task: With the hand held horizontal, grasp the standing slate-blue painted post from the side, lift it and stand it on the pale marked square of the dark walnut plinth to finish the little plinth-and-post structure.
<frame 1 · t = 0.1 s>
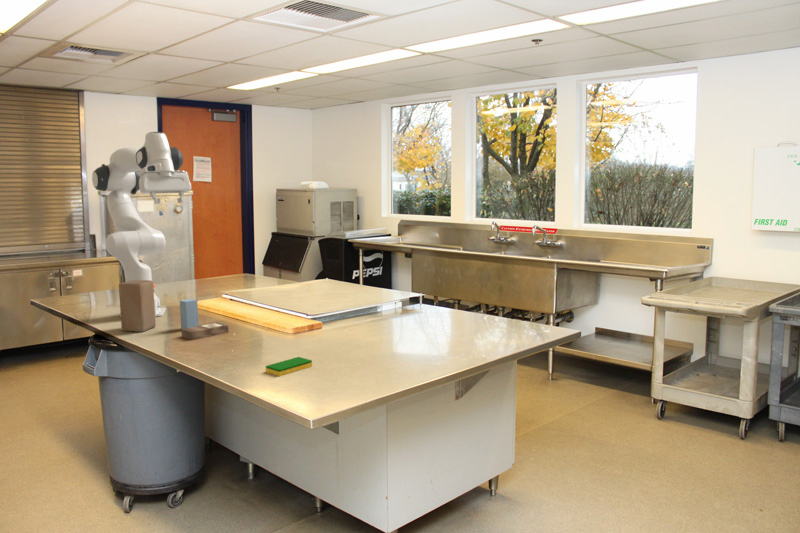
hand: (169, 203, 256), 52 cm above the table, tool tilted 20°, fingers open, 8 cm apart
plinth: (205, 334, 255), on the table
post: (190, 328, 265), on the table
dish sponge: (289, 370, 208), on the table
block: (139, 329, 265), on the table
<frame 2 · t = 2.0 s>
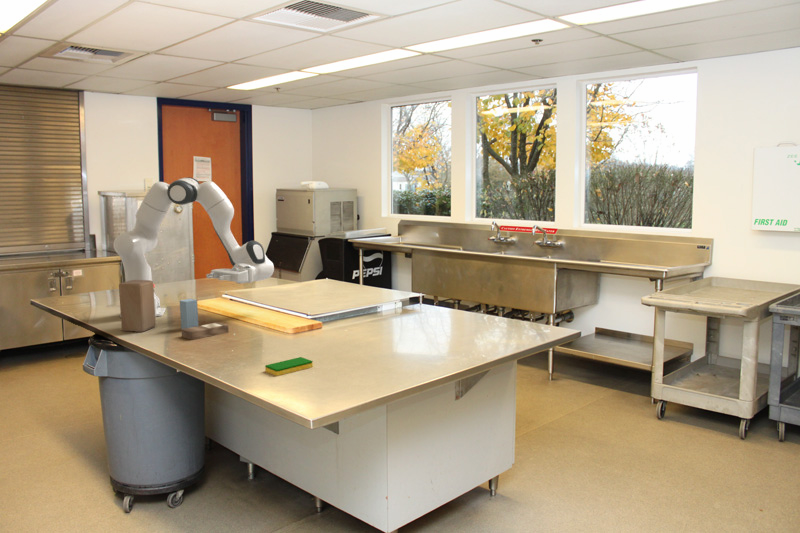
hand: (213, 277, 271), 20 cm above the table, tool horizontal, fingers open, 8 cm apart
nothing on the table moved.
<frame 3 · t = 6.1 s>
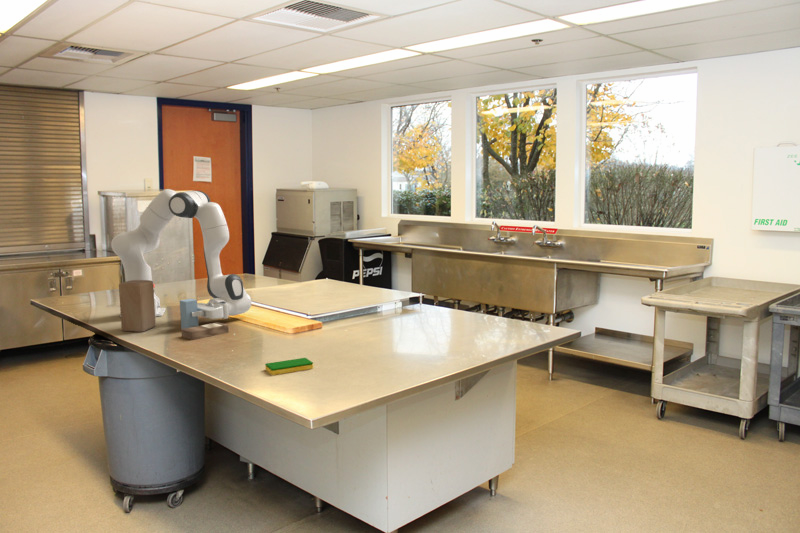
hand: (187, 313, 264), 7 cm above the table, tool horizontal, fingers closed on post, 5 cm apart
post: (190, 328, 265), on the table, touching gripper
when the fingers open (11 cm above the table, at t = 10.7 s): post drops 1 cm, resting on plinth.
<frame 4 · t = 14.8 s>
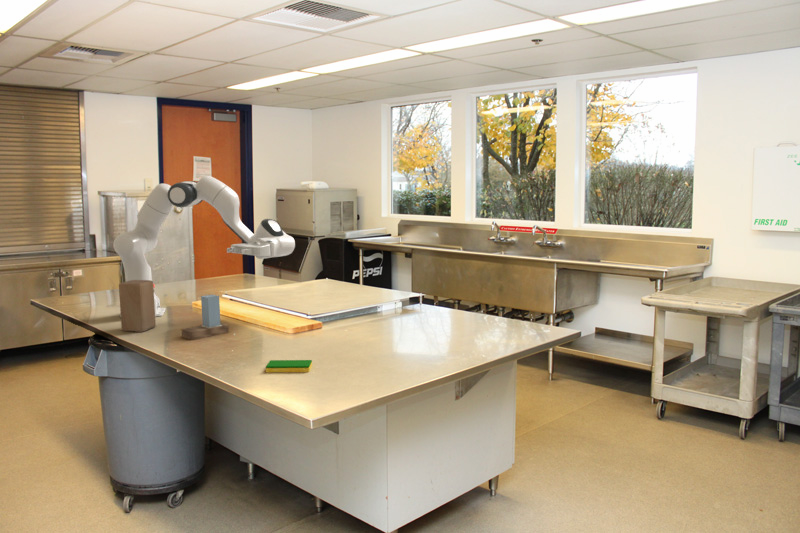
hand: (234, 251, 262), 32 cm above the table, tool horizontal, fingers open, 8 cm apart
post: (211, 325, 257), point 3 cm above the table, touching plinth
at the end: post inside the target area on the plinth (0.2 cm from its centre), point 3.1 cm above the plinth's base; post tilted 0°; the gripper is holding nothing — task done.
